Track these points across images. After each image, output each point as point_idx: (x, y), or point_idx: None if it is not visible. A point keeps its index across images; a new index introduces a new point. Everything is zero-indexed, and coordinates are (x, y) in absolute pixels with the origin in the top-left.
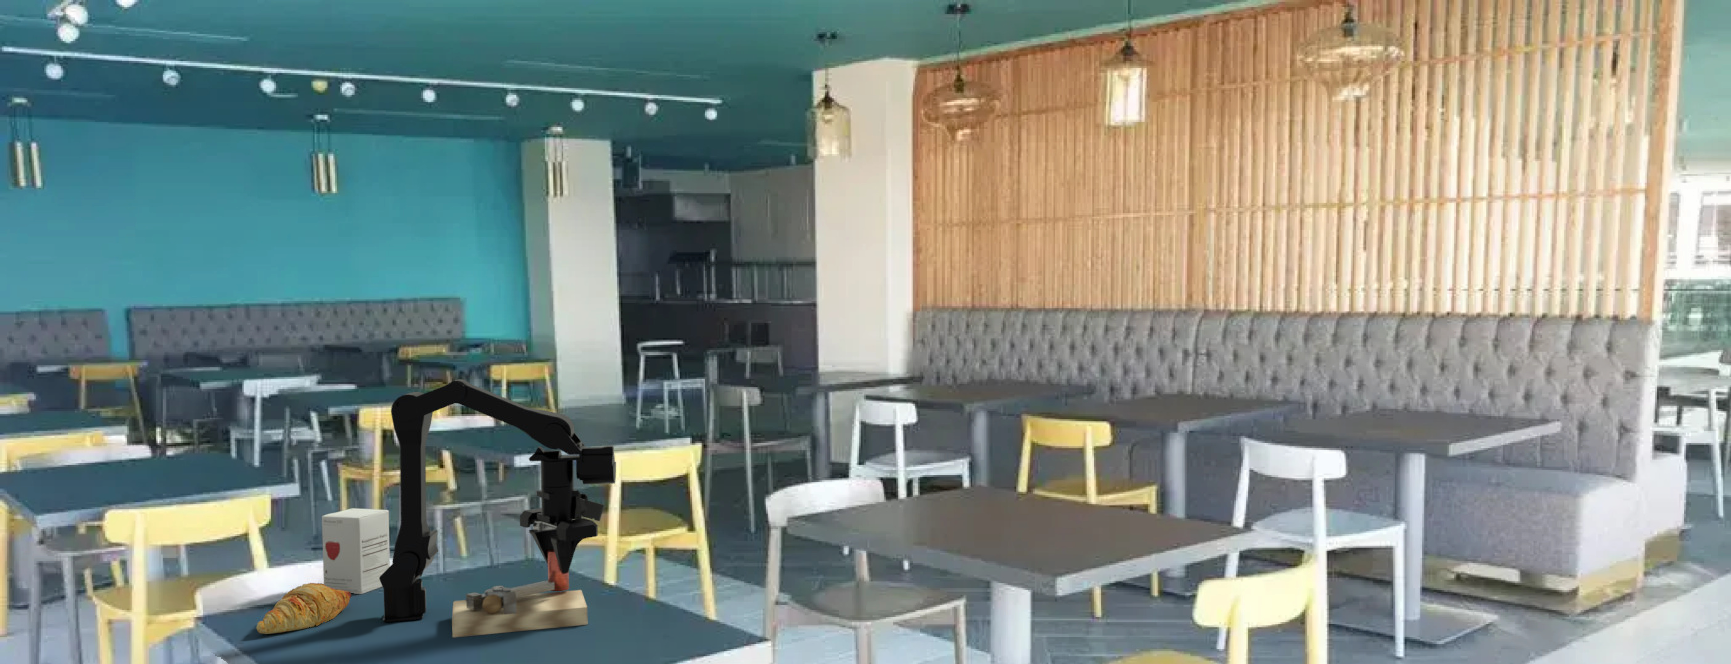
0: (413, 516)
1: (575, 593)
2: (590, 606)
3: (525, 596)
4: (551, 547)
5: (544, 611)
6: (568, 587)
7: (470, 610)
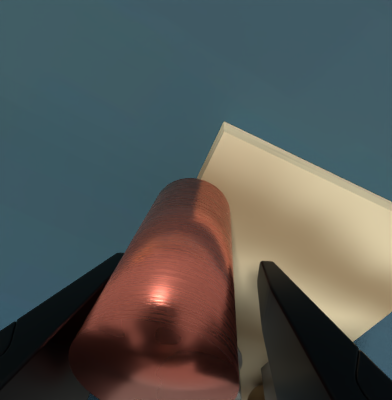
0: None
1: (258, 177)
2: (250, 99)
3: None
4: (57, 385)
5: (363, 331)
6: (220, 193)
7: None
